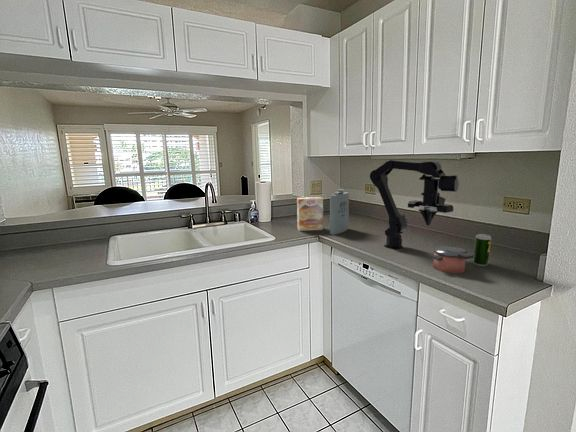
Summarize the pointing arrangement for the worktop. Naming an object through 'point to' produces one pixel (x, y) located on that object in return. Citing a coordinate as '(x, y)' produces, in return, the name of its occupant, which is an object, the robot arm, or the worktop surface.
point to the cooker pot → (449, 263)
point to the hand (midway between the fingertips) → (428, 225)
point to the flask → (339, 212)
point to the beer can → (482, 249)
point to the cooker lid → (452, 252)
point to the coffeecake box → (310, 213)
